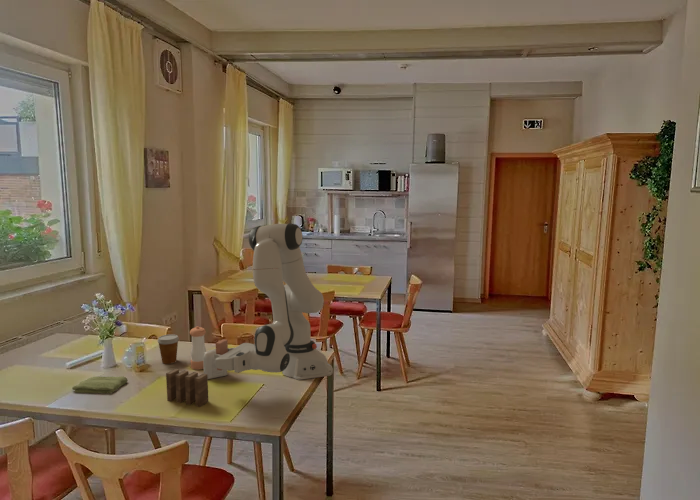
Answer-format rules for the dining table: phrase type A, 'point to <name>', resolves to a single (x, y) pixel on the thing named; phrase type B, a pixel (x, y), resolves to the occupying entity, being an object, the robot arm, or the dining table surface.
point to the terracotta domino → (222, 348)
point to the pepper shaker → (197, 348)
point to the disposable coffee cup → (168, 348)
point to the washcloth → (100, 385)
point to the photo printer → (212, 365)
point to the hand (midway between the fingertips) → (220, 353)
